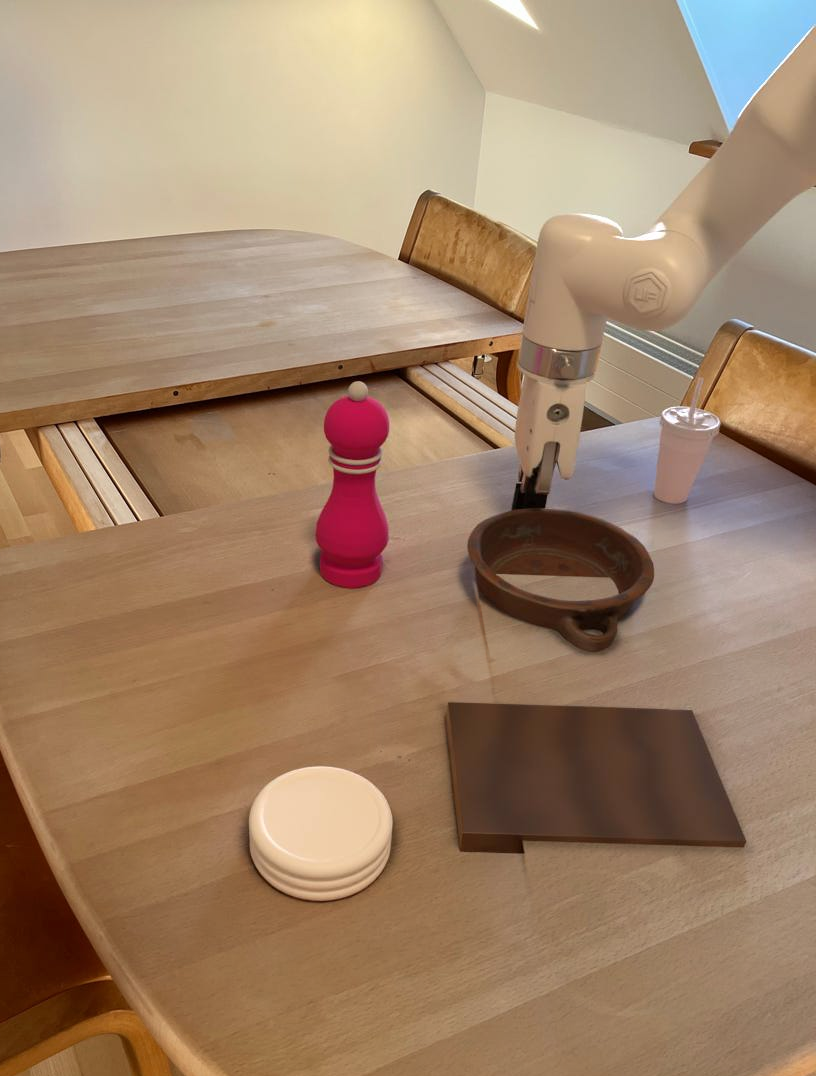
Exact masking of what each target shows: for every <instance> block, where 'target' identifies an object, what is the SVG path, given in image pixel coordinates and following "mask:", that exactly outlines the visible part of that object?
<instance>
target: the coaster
mask: <svg viewBox="0 0 816 1076" xmlns="http://www.w3.org/2000/svg"><path fill="white" fill-rule="evenodd" d="M393 825H394V821H393V814H392V811H391V807H390V805H389V802H388V800H387V798H386V797H385V796H384V794H383V792H381V790H380V789H379V788H378V787H377V786H375V784H373V783H372V782H371V781H370V780H368V779H367V778H365V777H363V776H361V775H360V774H357V773H355V772H353V771H351V770H347V769H344V768H340V767H333V766H323V765H322V766H320V765H318V766H307V767H301V768H298V769H293V770H291V771H288V772H285V773H283V774H281V775H279V776H277V777H275V778H274V779H273V780H271V781H270V782H269V783H267V784H266V785H265V786H263V788H262V789H261V790H260V791H259V793H258V794H257V795H256V797H255V799H254V801H253V803H252V805H251V807H250V811H249V815H248V831H249V832H248V836H249V837H248V838H249V852H250V856H251V859H252V861H253V864H254V866H255V868H256V869H257V871H258V872H259V873H260V875H261V876H262V877H263V878H264V880H265V881H267V882H268V884H269V885H271V886H273V887H274V888H275V889H277V890H278V891H280V892H281V893H284V894H286V895H288V896H292V897H293V898H297V899H302V900H307V901H318V902H322V901H323V902H324V901H325V902H326V901H335V900H340V899H344V898H346V897H350V896H352V895H355V894H357V893H359V892H360V891H362V890H364V889H366V888H367V887H369V886H370V885H371V884H372V883H374V881H375V880H376V879H377V878H378V877H379V876H380V874H382V872H383V870H384V869H385V867H386V865H387V863H388V860H389V857H390V854H391V847H392V837H393V833H392V832H393Z"/></svg>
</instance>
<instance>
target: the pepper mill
mask: <svg viewBox="0 0 816 1076" xmlns="http://www.w3.org/2000/svg"><path fill="white" fill-rule="evenodd" d="M347 394H348V395H345V396H342V397H341V398H338V399H336V400H335V401H334V402H333V403H332V404H331V405H330V406H329V408H328V409H327V411H326V413H325V416H324V420H323V421H324V422H323V432H324V436H325V439H326V440H327V442H328V443H329V444H330V446H329V447H328V454H329V455H328V458H327V459H328V464H329V465H330V466H331V468H332V472H333V481H332V488H331V491H330V495H329V497H328V499H327V501H326V503H325V504H324V506H323V507H322V509H321V512H320V514H319V516H318V519H317V521H316V527H315V535H314V536H315V542H316V544H317V546H318V548H319V549H320V550H321V552H320V555H319V573H320V575H321V576H322V577H323V579H324V580H325V581H327V582H328V583H330V584H332V585H334V586H337V587H340V588H347V589H348V588H349V589H356V588H363V587H367V586H370V585H372V584H374V583H375V582H376V581H378V580H379V579H380V577H381V575H382V570H383V555H382V553H383V552H384V551H385V549H386V548H387V546H388V544H389V539H390V531H389V523H388V520H387V516H386V513H385V510H384V508H383V506H382V504H381V501H380V499H379V496H378V493H377V489H376V488H377V487H376V475H377V470H378V469H379V468H380V467H381V466H382V464H383V459H382V456H383V454H384V452H383V448H382V446H383V445H384V443H385V442H386V441H387V439H388V436H389V433H390V419H389V414H388V412H387V409H386V408H385V407H384V406H383V405H382V403H380V402H379V401H378V400H376V399H375V398H373V397H370V396H369V395H368V394H369V389H368V386H367V385H366V384H365V383H364V382H362V381H360V380H359V381H358V380H357V381H354V382H352V383H351V384H350V385H349V386H348V391H347Z"/></svg>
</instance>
